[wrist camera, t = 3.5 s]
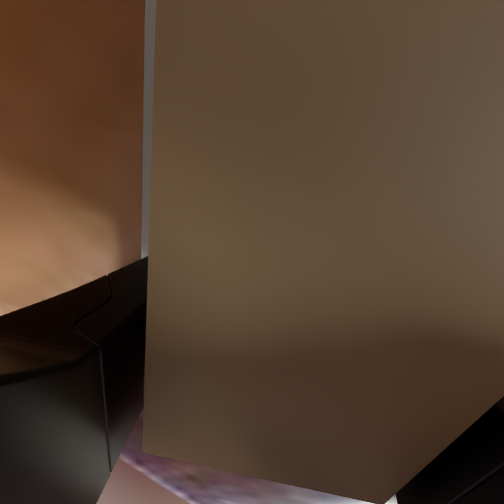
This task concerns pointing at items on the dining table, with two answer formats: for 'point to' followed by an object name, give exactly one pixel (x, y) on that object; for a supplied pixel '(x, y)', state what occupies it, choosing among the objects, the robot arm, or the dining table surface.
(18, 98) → the dining table surface
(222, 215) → the walnut block
